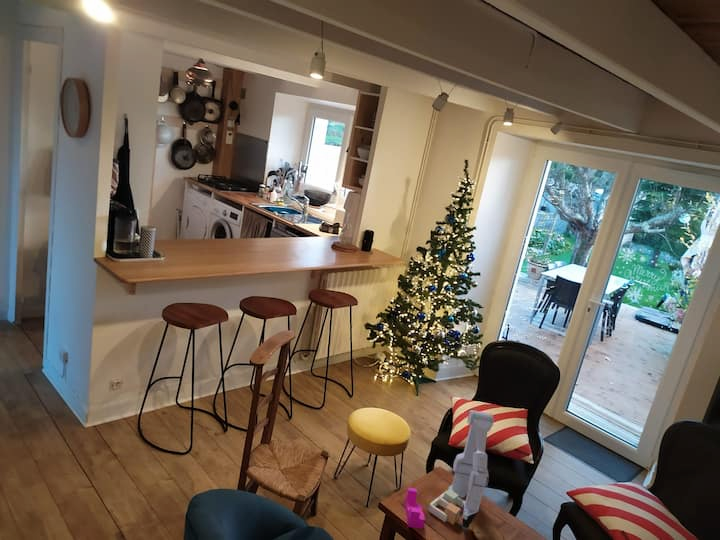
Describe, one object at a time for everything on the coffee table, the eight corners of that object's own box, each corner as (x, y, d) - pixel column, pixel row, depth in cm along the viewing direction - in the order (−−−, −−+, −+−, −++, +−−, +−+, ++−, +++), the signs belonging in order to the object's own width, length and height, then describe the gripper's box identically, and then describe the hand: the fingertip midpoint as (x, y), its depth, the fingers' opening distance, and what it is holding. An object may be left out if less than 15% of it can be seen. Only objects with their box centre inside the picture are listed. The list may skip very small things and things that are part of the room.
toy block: (422, 529, 217) (426, 513, 215) (407, 526, 217) (411, 511, 215) (418, 504, 232) (422, 489, 230) (404, 502, 232) (408, 487, 230)
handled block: (447, 513, 229) (450, 501, 227) (470, 527, 223) (473, 515, 222) (442, 518, 225) (445, 506, 224) (465, 532, 219) (469, 520, 218)
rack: (445, 495, 240) (447, 489, 240) (463, 506, 235) (464, 500, 234) (427, 510, 229) (428, 504, 228) (445, 522, 223) (446, 516, 223)
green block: (446, 499, 238) (449, 488, 237) (455, 505, 235) (458, 495, 234) (441, 503, 235) (444, 492, 234) (451, 509, 232) (454, 498, 231)
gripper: (471, 484, 226) (464, 511, 229) (458, 500, 214) (451, 528, 217) (487, 492, 223) (479, 519, 226) (474, 509, 211) (467, 537, 214)
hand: (466, 524), depth 221 cm, fingers closed on handled block, 3 cm apart
